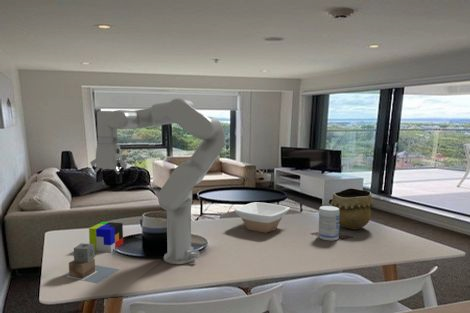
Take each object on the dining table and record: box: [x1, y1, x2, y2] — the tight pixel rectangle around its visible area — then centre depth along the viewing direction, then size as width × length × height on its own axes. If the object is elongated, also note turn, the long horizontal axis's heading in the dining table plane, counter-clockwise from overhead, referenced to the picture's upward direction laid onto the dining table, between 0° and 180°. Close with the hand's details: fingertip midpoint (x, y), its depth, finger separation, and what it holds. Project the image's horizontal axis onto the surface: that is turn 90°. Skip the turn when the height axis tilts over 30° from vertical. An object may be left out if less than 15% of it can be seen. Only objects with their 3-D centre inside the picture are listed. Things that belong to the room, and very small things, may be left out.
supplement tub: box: [318, 205, 340, 242], centre depth 165 cm, size 10×10×15 cm
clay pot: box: [330, 187, 375, 230], centre depth 180 cm, size 21×21×20 cm
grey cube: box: [73, 242, 96, 263], centre depth 124 cm, size 5×5×5 cm
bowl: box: [233, 201, 290, 234], centre depth 181 cm, size 24×25×11 cm
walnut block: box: [68, 258, 96, 279], centre depth 124 cm, size 6×6×5 cm
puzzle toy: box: [88, 221, 124, 254], centre depth 152 cm, size 10×10×10 cm
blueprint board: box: [60, 264, 121, 284], centre depth 125 cm, size 16×12×1 cm
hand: (109, 182), depth 143 cm, fingers open, 9 cm apart
